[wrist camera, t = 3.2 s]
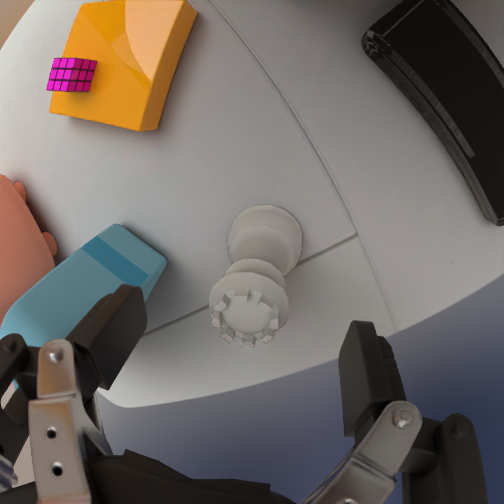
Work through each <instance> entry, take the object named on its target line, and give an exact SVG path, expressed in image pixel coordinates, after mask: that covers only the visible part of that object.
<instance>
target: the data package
mask: <svg viewBox="0 0 504 504" xmlns="http://www.w3.org/2000/svg"><path fill="white" fill-rule="evenodd" d="M166 265H167V259H166V258H165V257H163V256H162V255H161V254H159V253H158V252H156V251H155V250H154V249H152V248H151V247H149V246H148V245H147V244H145V243H144V242H143V241H141V240H140V239H138V238H137V237H136V236H134V235H133V234H132V233H130V232H129V231H128V230H126V229H125V228H124V227H122V226H121V225H120V224H114V225H112V226H110V227H109V228H107V229H106V230H104V231H103V232H101V233H100V234H99V235H97V236H96V237H94V238H93V239H92V240H90V241H89V242H88V243H86V244H85V245H84V246H82V247H81V248H80V249H78V250H77V251H76V252H74V253H73V254H72V255H70V256H69V257H68V258H67V259H65V260H64V261H63V262H61V263H60V264H59V265H58V266H56V267H55V268H54V269H53V270H51V271H50V272H49V273H48V274H47V275H45V276H44V277H43V278H42V279H41V280H39V281H38V282H37V283H36V284H35V285H34V286H32V287H31V288H30V289H29V290H28V291H27V292H26V293H24V294H23V295H22V296H21V297H20V298H19V299H18V300H17V301H16V302H15V303H14V304H13V305H12V306H11V307H10V309H9V310H8V312H7V313H6V315H5V317H4V319H3V322H2V324H1V328H0V340H1V339H2V338H3V337H4V336H6V335H8V334H11V333H18V334H20V335H22V337H23V338H24V340H25V342H26V344H27V345H29V346H36V347H42V346H43V345H44V344H45V343H46V342H48V341H50V340H52V339H58V338H60V339H65V338H66V337H67V336H68V334H69V333H70V332H71V331H72V330H73V329H74V327H75V326H76V325H77V324H78V323H79V322H80V320H81V319H82V318H83V317H84V316H85V315H87V312H88V311H89V310H90V309H92V307H93V306H94V305H95V304H96V302H97V301H98V300H99V299H101V298H102V297H104V296H106V295H108V294H109V293H114V292H115V290H116V289H117V288H118V287H119V286H120V285H121V284H123V283H125V284H129V285H134V286H139V287H141V288H142V291H143V296H144V302H146V300H147V298H148V297H149V295H150V293H151V291H152V289H153V288H154V286H155V284H156V282H157V281H158V279H159V277H160V276H161V274H162V272H163V270H164V269H165V267H166ZM12 382H13V385H14V388H15V391H16V389H17V388H18V385H17V383H16V382H15V381H14V380H13V381H12Z"/></svg>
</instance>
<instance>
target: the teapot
mask: <svg viewBox="0 0 504 504" xmlns="http://www.w3.org/2000/svg"><path fill="white" fill-rule="evenodd" d="M25 203H26V191H25V188H24V186H23V185H22V183H20V182H16V183H15V185H13V184H12V183H11V181H10V180H9V179H8V178H7V177H6V176H4V175H1V174H0V328H1V324H2V322H3V319H4V317H5V315H6V313H7V312H8V310H9V309H10V307H11V306H12V305H13V304H14V303H15V302H16V301H17V300H18V299H19V298H20V297H21V296H22V295H23V294H24V293H26V292H27V291H28V290H29V289H30V288H31V287H32V286H34V285H35V284H36V283H37V282H38V281H39V280H41V279H42V278H43V277H44V276H45V275H47V274H48V273H49V272H50V271H51V270H53V269H54V268H55V263H54V259H53V257H52V256H54V255H56V253H57V244H56V241H55V239H54V238H53V236H52V235H51V234H50V233H48V232H43V233H41V231H40V229H39V227H38V225H37V223H36V221H35V220H34V218H33V216H32V214H31V212H30V210H29V209H28V207H27V205H26V204H25ZM11 385H12V387H13V388H14V385H13V382H12V383H11ZM14 390H15V388H14Z"/></svg>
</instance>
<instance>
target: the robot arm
mask: <svg viewBox="0 0 504 504" xmlns="http://www.w3.org/2000/svg"><path fill="white" fill-rule="evenodd" d="M146 325H147V314H146V308H145V302H144V296H143V291H142V288H141V287H139V286H134V285H129V284H125V283H123V284H121V285H120V286H119V287H118V288H117V289H116V290H115V292H114V293H109V294H108V295H106V296H104V297H102V298H101V299H99V300H98V301H97V302H96V304H95V305H94V306H93V307H92V309H90V310H89V311H88V312H87V315H85V316H84V317H83V318H82V319H81V320H80V322H79V323H78V324H77V325H76V326H75V327H74V329H73V330H72V331H71V332H70V333H69V334H68V336H67V337H66V338H65V339H60V338H58V339H52V340H50V341H48V342H46V343H45V344H44V345H43V346H42V347H36V346H29V345H27V344H26V342H25V340H24V338H23V337H22V335H20V334H18V333H11V334H8V335H6V336H4V337H3V338H2V339H1V340H0V504H296V503H295V502H293V501H292V500H290V499H288V498H287V497H285V496H283V495H281V494H278V493H276V492H273V491H270V484H267V483H258V482H251V481H243V480H236V479H192V478H189V477H187V476H185V475H183V474H181V473H179V472H177V471H176V470H174V469H172V468H170V467H168V466H167V465H165V464H163V463H161V462H160V461H158V460H155V459H152V458H149V457H146V456H143V455H140V454H138V453H135V452H133V451H130V450H127V449H126V450H125V452H124V454H123V455H113V452H112V450H111V448H110V445H109V443H108V442H107V439H106V437H105V434H104V430H103V426H102V421H101V417H100V412H99V407H98V403H97V397H96V394H95V391H96V389H97V388H98V387H100V388H103V389H105V390H109V389H110V387H111V385H112V384H113V382H114V380H115V379H116V377H117V375H118V374H119V372H120V370H121V369H122V367H123V365H124V364H125V362H126V360H127V359H128V357H129V355H130V354H131V352H132V351H133V349H134V347H135V346H136V344H137V343H138V341H139V339H140V338H141V336H142V335H143V333H144V331H145V329H146ZM338 363H339V364H338V365H339V374H340V385H341V396H342V406H343V407H342V408H343V421H344V436H345V437H353V436H354V437H355V444H354V446H353V447H352V448H351V449H350V451H349V452H348V453H347V454H346V456H345V457H344V458H343V459H342V460H341V462H340V463H339V464H338V465H337V466H336V468H335V469H334V470H333V471H332V472H331V473H330V474H329V475H328V476H327V478H326V479H325V480H324V481H323V482H322V483H321V484H320V485H319V486H318V487H317V488H316V489H315V490H314V491H313V492H312V493H311V494H310V495H309V496H307V497H306V499H304V500H303V501H302V502H301V503H300V504H383V503H384V502H385V501H386V499H387V498H388V496H389V495H390V493H391V492H392V490H393V488H394V487H395V484H396V479H394V477H395V475H396V473H397V471H399V472H402V496H403V504H488V500H487V491H486V484H485V477H484V471H483V465H482V461H481V455H480V451H479V447H478V442H477V438H476V434H475V430H474V426H473V424H472V422H471V421H470V419H469V418H467V417H466V416H464V415H462V414H458V413H455V414H451V415H450V416H448V417H447V418H446V419H445V420H444V421H443V422H442V421H437V420H432V419H428V418H424V417H421V414H420V412H419V410H418V409H417V408H416V407H415V406H414V405H412V404H411V403H409V402H407V400H406V396H405V392H404V388H403V385H402V381H401V377H400V374H399V371H398V368H397V364H396V360H395V359H394V354H393V351H392V348H391V345H390V344H389V343H388V342H387V340H386V339H385V338H384V337H383V336H377V334H376V330H375V327H374V324H373V322H368V321H357V320H353V321H352V322H351V324H350V326H349V329H348V332H347V334H346V337H345V339H344V342H343V344H342V347H341V349H340V353H339V360H338ZM13 380H14V381H15V382H16V383H17V385H18V388H17V389H16V391H15V392H14V394H13V395H12V397H11V398H10V400H9V402H8V403H7V405H6V406H5V408H4V409H2V407H1V398H2V396H3V395H4V393H5V392H6V390H7V389H8V387H9V386H10V384H11V383H12V381H13ZM29 434H30V445H31V456H32V464H33V470H34V477H35V481H33V482H31V483H27V484H24V485H21V486H18V487H15V488H12V485H16V484H17V482H18V477H17V475H16V474H15V473H14V470H13V466H14V464H15V462H16V460H17V458H18V456H19V454H20V452H21V450H22V448H23V446H24V444H25V442H26V440H27V438H28V436H29Z"/></svg>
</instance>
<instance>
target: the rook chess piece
mask: <svg viewBox="0 0 504 504" xmlns="http://www.w3.org/2000/svg"><path fill="white" fill-rule="evenodd" d="M301 248H302V231H301V229H300V227H299V225H298V223H297V221H296V219H295V218H294V217H292V216H291V215H290V214H289V213H288V212H287V211H286V210H284V209H281V208H278V207H275V206H273V205H254V206H252V207H250V208H248V209H246V210H244V211H242V212H241V213H240V214H239V215H238V216H237V217H236V218H235V220H234V221H233V222H232V225H231V228H230V231H229V234H228V237H227V249H228V256H229V258H230V260H231V262H232V265H231V266H230V267H229V268H228V269H227V270H226V271H225V274H224V277H223V278H221V279H220V280H219V281H218V282H217V283H216V284H215V285H214V286H213V287H212V288H211V292H210V295H209V299H208V302H209V307H210V311H211V314H212V316H211V319H212V324H213V327H220V326H221V327H222V328H223V329H222V332H221V335H220V337H222V338H223V339H225V340H226V341H228V342H229V343H230V342H231V341H232V340H233V337H234V336H236V337H239V338H242V339H243V341H242V347H254V346H255V340H256V339H259V338H261V340H262V341H263V342H264V343H265V344H266V343H268V342H269V341H270V340H272V339H273V338H274V334H275V332H276V331H277V330H279V329H280V328H281V327H283V326H284V324H285V323H286V321H287V319H288V317H289V315H290V304H289V299H288V298H287V296H286V294H285V293H286V285H285V280H284V278H283V276H285V275H287V274H288V273H289V272H290V271H291V270H292V269H293V268H294V267H295V266H296V264H297V262H298V260H299V257H300V255H301V253H302V249H301Z"/></svg>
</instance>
